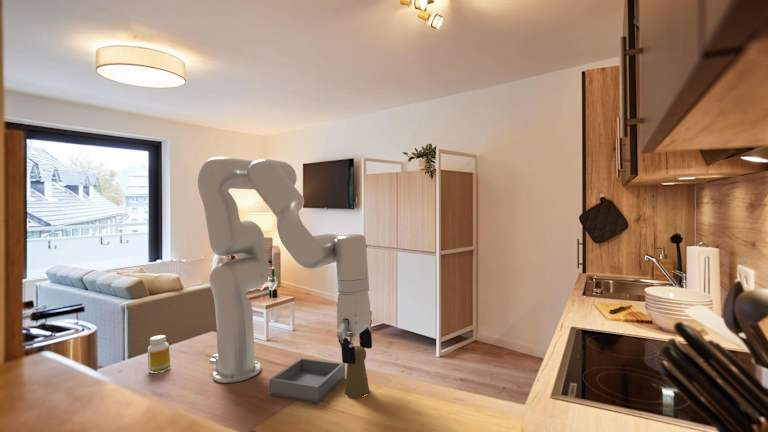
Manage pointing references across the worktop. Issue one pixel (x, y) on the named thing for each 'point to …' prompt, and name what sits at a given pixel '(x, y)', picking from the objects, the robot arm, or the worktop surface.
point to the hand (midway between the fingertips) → (358, 355)
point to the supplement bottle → (158, 354)
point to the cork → (357, 375)
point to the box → (307, 380)
